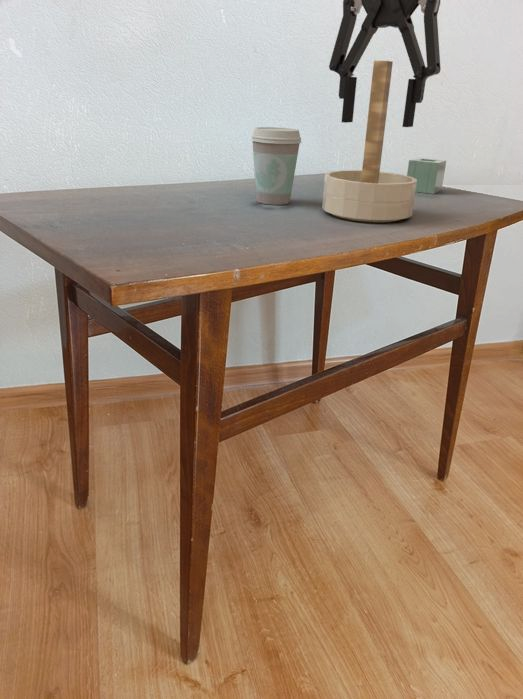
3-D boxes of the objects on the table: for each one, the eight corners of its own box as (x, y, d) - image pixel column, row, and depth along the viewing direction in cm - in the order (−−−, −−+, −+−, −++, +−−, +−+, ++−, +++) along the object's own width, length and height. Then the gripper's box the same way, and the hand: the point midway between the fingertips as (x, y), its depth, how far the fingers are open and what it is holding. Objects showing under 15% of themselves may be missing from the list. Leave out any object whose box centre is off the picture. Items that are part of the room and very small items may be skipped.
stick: (375, 210, 97) (393, 61, 88) (370, 212, 95) (387, 60, 86) (362, 208, 98) (378, 61, 89) (357, 210, 96) (373, 60, 87)
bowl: (422, 213, 99) (428, 177, 97) (394, 228, 88) (399, 187, 85) (343, 202, 106) (346, 167, 103) (307, 215, 94) (310, 176, 92)
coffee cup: (238, 200, 103) (240, 127, 98) (271, 195, 109) (274, 126, 104) (275, 208, 98) (279, 131, 93) (307, 203, 104) (312, 130, 99)
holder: (441, 190, 123) (446, 160, 121) (433, 194, 118) (438, 162, 116) (413, 187, 126) (417, 157, 123) (404, 190, 121) (408, 159, 118)
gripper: (313, -50, 84) (302, 120, 93) (470, -61, 74) (440, 130, 83) (335, -40, 90) (322, 119, 99) (483, -49, 80) (454, 128, 89)
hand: (376, 124), depth 91 cm, fingers open, 9 cm apart
